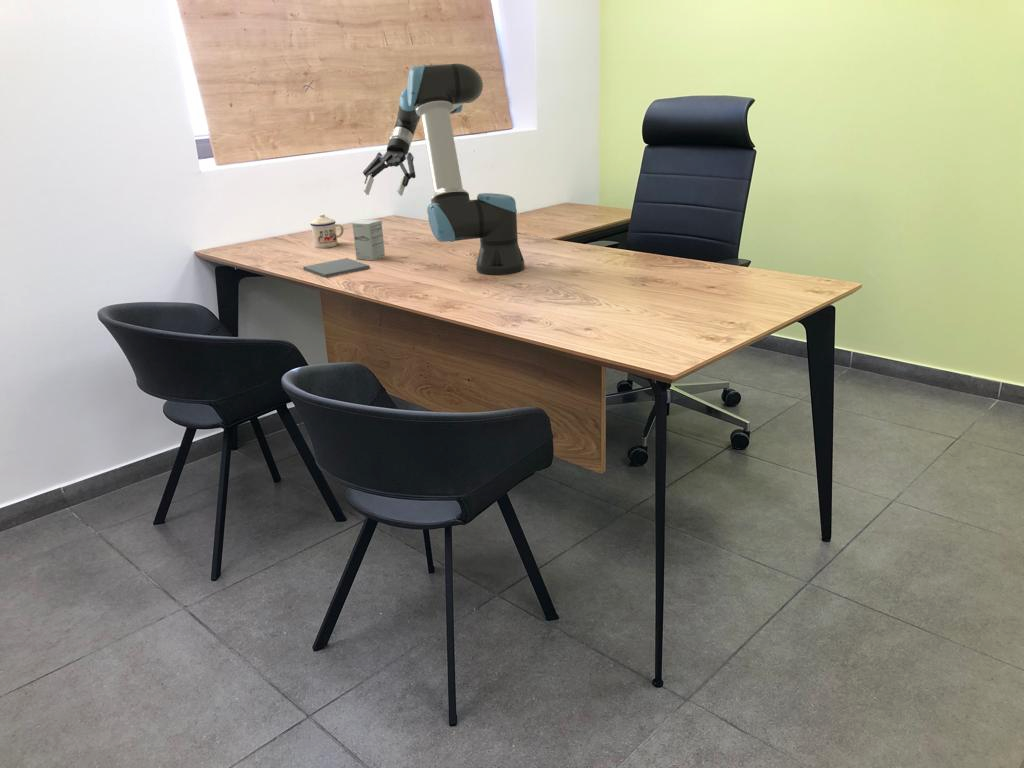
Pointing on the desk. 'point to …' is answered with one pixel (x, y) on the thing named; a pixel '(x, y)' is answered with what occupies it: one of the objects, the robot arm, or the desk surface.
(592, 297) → the desk surface
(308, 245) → the desk surface
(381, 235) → the supplement box
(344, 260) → the slate mat
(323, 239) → the teacup with lid
